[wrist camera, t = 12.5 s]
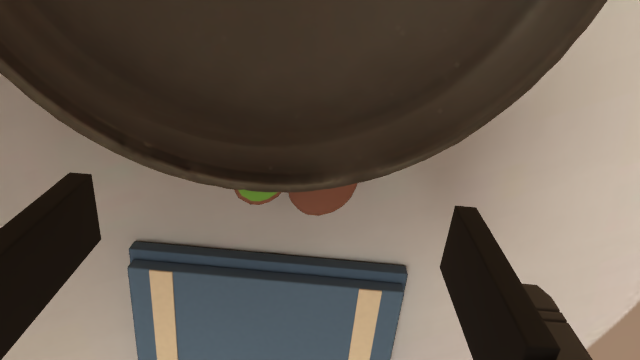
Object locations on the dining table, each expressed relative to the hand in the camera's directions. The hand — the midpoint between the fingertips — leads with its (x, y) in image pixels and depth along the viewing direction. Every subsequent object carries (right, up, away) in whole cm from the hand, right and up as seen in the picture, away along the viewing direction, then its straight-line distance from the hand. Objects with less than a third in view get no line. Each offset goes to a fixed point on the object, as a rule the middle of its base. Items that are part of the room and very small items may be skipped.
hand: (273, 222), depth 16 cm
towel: (-1, -7, +10) cm, 13 cm away
